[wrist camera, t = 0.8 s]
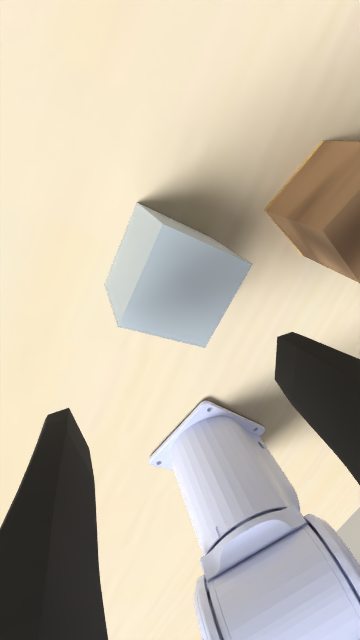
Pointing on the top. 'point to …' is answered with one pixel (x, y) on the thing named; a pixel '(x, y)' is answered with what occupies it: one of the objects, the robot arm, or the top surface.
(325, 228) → the walnut cube
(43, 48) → the top surface
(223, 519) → the robot arm
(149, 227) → the slate-grey cube
